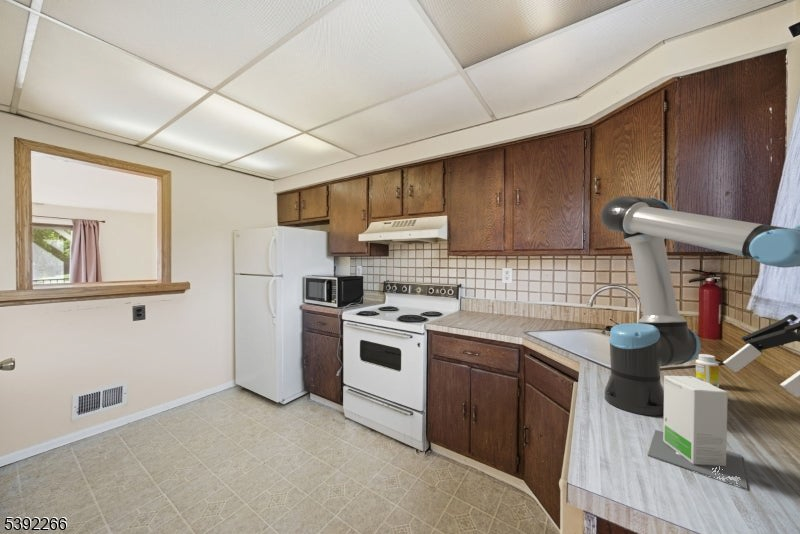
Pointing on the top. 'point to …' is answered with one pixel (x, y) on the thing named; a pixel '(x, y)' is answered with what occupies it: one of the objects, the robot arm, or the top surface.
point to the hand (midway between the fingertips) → (755, 378)
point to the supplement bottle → (707, 369)
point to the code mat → (671, 456)
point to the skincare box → (695, 420)
